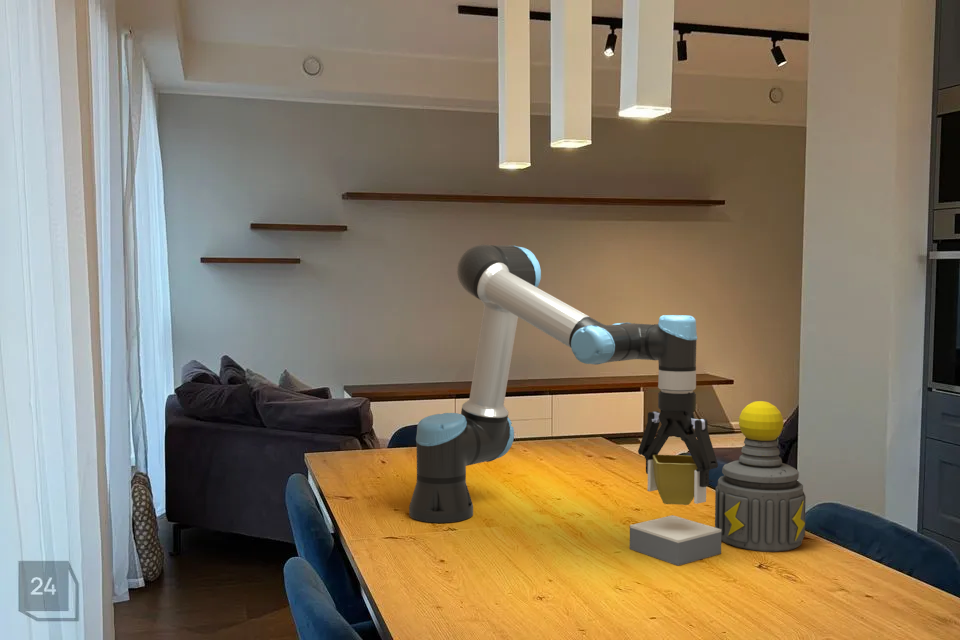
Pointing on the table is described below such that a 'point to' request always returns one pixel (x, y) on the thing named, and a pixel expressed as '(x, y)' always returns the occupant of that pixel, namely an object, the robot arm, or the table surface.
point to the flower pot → (674, 478)
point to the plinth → (675, 539)
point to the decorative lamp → (760, 489)
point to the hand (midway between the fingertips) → (676, 496)
